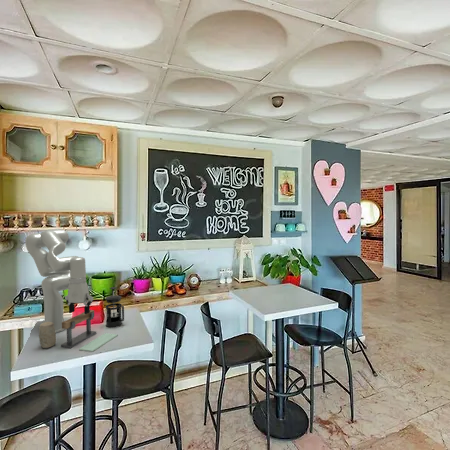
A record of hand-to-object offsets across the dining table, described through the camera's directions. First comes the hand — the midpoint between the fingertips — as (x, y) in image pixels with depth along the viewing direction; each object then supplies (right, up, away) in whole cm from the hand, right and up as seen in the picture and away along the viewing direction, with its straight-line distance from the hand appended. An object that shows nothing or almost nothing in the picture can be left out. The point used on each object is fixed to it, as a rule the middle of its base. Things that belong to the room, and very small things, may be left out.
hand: (79, 312), depth 157 cm
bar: (0, -5, 0) cm, 5 cm away
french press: (+11, -14, +22) cm, 28 cm away
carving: (-13, -16, -7) cm, 21 cm away
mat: (+12, -15, -2) cm, 19 cm away
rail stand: (0, -15, +1) cm, 15 cm away
